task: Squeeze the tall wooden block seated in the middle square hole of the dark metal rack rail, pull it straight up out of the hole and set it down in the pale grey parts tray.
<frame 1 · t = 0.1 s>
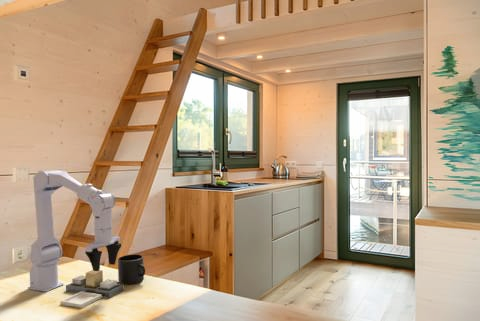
hand: (104, 267, 126), 10 cm above the table, fingers open, 7 cm apart
rack rail: (94, 290, 132), on the table
mug: (133, 281, 141), on the table
parts tray: (81, 301, 123), on the table
wooden block: (94, 290, 132), resting in rack rail
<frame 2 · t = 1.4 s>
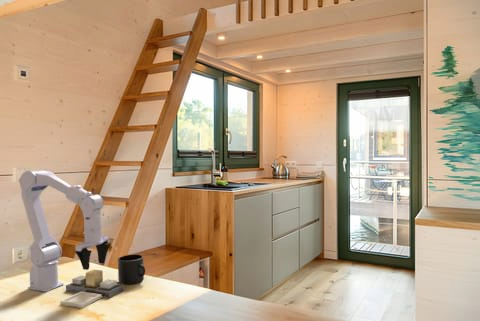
hand: (94, 266, 132), 9 cm above the table, fingers open, 7 cm apart
nothing on the table moved.
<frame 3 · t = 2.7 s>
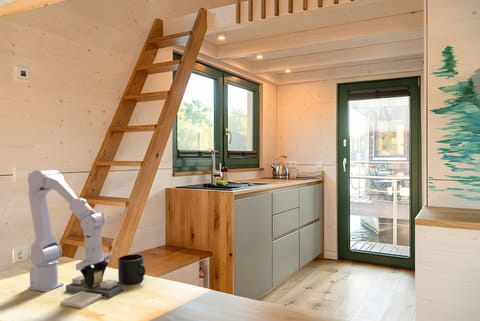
hand: (94, 284, 132), 2 cm above the table, fingers closed on wooden block, 4 cm apart
wooden block: (94, 290, 132), resting in rack rail, touching gripper
everything else where it was.
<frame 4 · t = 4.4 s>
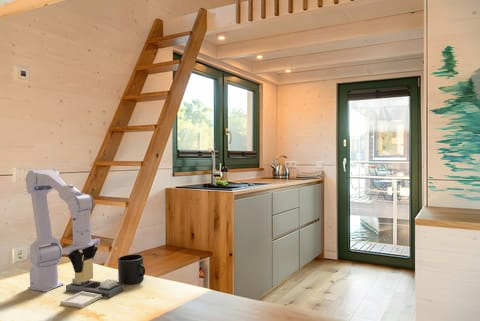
hand: (83, 270, 124), 10 cm above the table, fingers closed on wooden block, 4 cm apart
wooden block: (84, 279, 124), point 7 cm above the table, touching gripper
everything else where it was.
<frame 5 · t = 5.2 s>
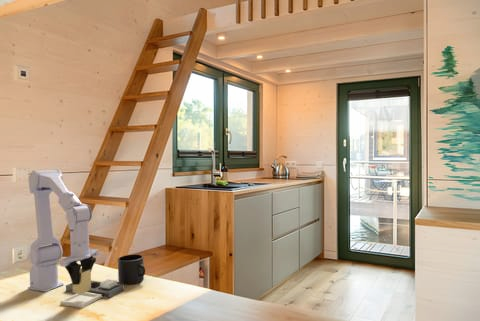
hand: (81, 281, 122), 7 cm above the table, fingers closed on wooden block, 4 cm apart
wooden block: (82, 291, 122), point 3 cm above the table, touching gripper
everything else where it was.
when the fingers open (4 cm above the table, at t = 6.1 s): wooden block stays where it is, resting on parts tray.
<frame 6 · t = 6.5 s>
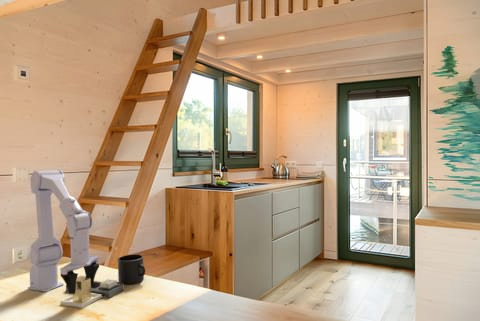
hand: (81, 289, 122), 4 cm above the table, fingers open, 7 cm apart
wooden block: (82, 300, 122), resting on parts tray
everything else where it was.
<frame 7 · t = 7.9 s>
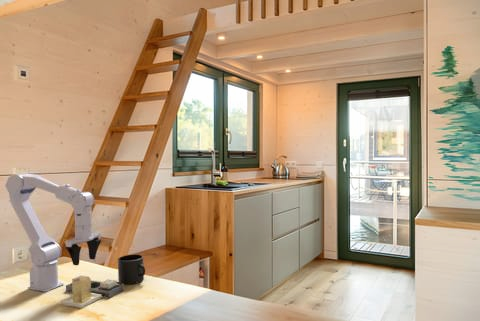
hand: (84, 261, 134), 10 cm above the table, fingers open, 7 cm apart
nothing on the table moved.
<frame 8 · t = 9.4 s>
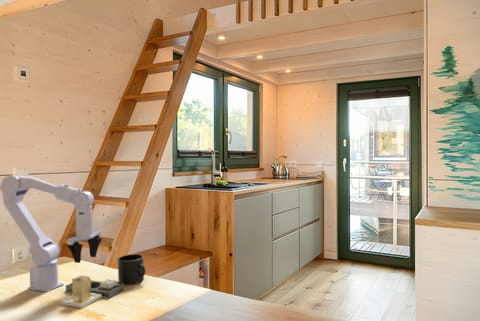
hand: (85, 259, 137), 10 cm above the table, fingers open, 7 cm apart
nothing on the table moved.
at the end: wooden block inside the target area on the parts tray (0.3 cm from its centre), point 0.4 cm above the parts tray's base; wooden block tilted 0°; the gripper is holding nothing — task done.
